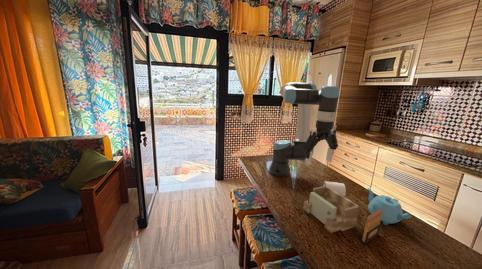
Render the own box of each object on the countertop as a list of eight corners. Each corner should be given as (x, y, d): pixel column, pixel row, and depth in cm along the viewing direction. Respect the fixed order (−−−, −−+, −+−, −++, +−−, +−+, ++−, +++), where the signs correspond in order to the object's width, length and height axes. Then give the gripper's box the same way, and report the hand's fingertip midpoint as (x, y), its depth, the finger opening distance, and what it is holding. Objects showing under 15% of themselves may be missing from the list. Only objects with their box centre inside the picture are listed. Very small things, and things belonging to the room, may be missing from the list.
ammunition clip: (365, 243, 75) (371, 217, 72) (360, 240, 76) (366, 214, 73) (378, 234, 80) (384, 209, 77) (373, 231, 82) (379, 206, 79)
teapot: (365, 221, 88) (370, 199, 85) (363, 206, 100) (367, 186, 97) (407, 233, 81) (414, 210, 78) (399, 216, 93) (405, 195, 90)
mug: (344, 200, 104) (346, 187, 102) (325, 198, 106) (327, 185, 104) (338, 190, 116) (340, 178, 114) (320, 187, 117) (322, 175, 116)
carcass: (302, 208, 96) (304, 190, 93) (323, 202, 101) (325, 185, 99) (332, 234, 79) (336, 213, 76) (356, 226, 84) (360, 206, 82)
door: (306, 211, 94) (308, 192, 91) (311, 209, 95) (313, 191, 93) (328, 229, 82) (331, 209, 79) (333, 227, 83) (336, 207, 80)
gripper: (309, 123, 80) (303, 169, 85) (351, 120, 89) (343, 162, 95) (298, 119, 86) (293, 162, 92) (337, 117, 96) (331, 156, 102)
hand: (318, 162), depth 93 cm, fingers open, 13 cm apart
